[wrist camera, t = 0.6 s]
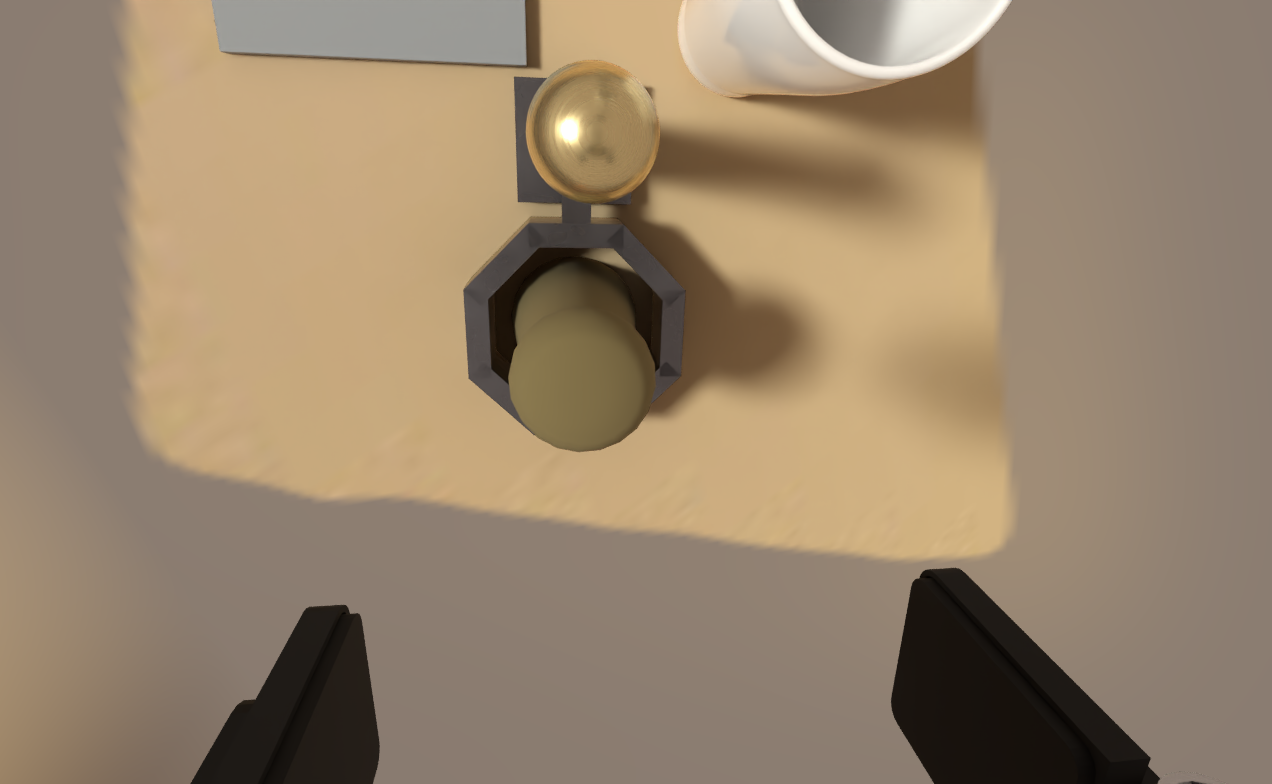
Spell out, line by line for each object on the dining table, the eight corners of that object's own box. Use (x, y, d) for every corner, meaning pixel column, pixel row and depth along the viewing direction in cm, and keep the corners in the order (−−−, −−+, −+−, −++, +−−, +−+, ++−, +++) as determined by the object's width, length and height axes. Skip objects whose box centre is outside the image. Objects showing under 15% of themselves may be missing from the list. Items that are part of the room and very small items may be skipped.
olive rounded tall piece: (538, 235, 31) (531, 276, 20) (655, 285, 32) (704, 347, 22) (493, 351, 32) (466, 444, 22) (607, 394, 34) (631, 499, 23)
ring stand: (460, 76, 28) (353, -13, 13) (683, 86, 29) (823, 14, 14) (478, 412, 33) (417, 629, 18) (667, 409, 34) (758, 610, 19)
